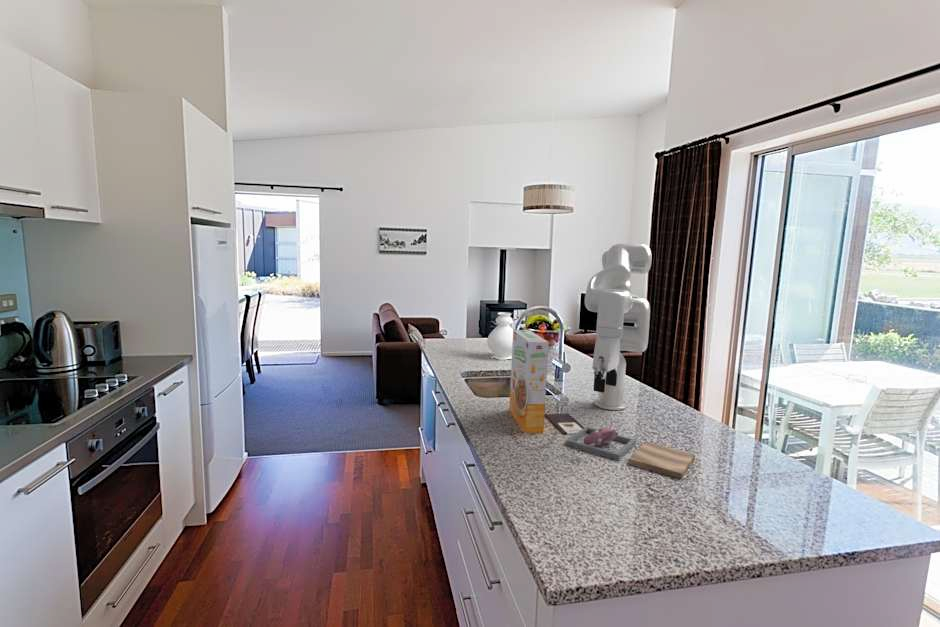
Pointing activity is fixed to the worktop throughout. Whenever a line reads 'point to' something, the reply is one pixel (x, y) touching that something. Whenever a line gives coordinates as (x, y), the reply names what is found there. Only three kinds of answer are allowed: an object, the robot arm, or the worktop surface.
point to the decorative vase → (501, 337)
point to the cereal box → (528, 380)
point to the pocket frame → (596, 450)
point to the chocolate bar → (565, 423)
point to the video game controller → (601, 436)
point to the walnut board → (662, 459)
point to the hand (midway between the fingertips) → (605, 388)
